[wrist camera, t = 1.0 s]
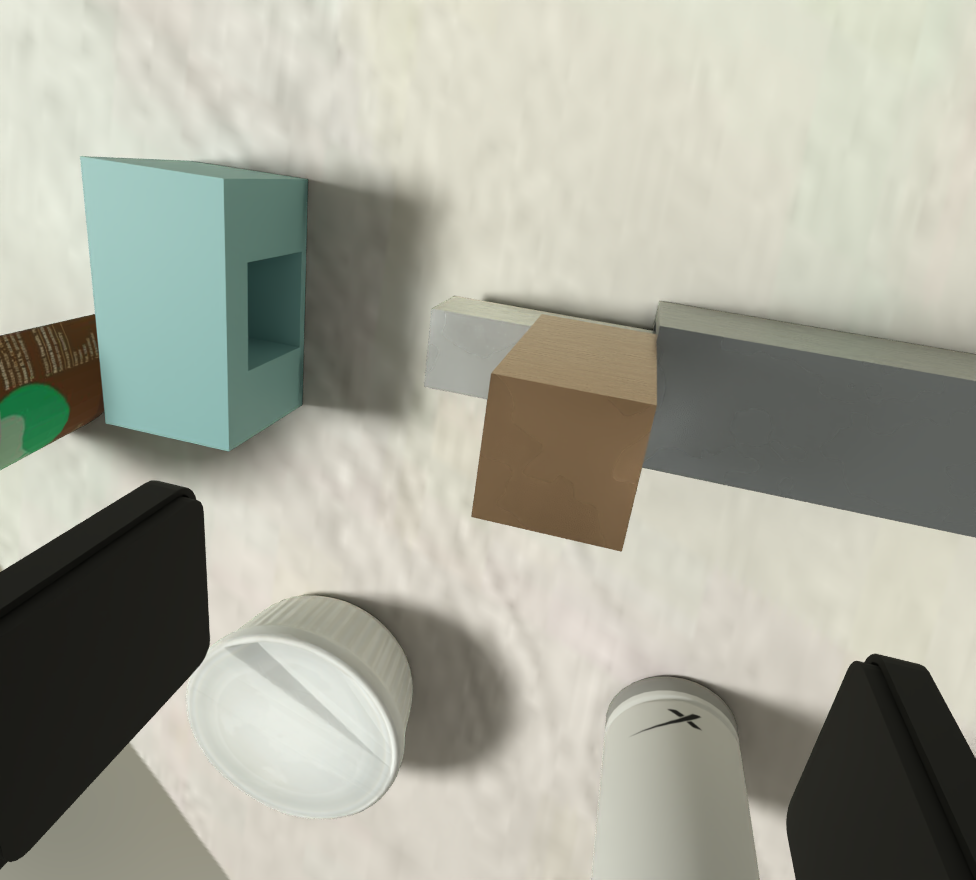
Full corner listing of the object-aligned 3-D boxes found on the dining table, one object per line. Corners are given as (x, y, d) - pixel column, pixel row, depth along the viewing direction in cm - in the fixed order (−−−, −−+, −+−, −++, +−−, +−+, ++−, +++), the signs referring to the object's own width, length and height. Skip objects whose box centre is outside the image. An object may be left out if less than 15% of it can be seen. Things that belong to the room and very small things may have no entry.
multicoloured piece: (968, 372, 24) (1192, 509, 14) (925, 473, 26) (1100, 662, 15) (455, 283, 27) (337, 343, 17) (445, 378, 29) (331, 484, 19)
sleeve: (992, 357, 25) (1068, 397, 20) (939, 479, 26) (998, 542, 22) (659, 300, 26) (660, 325, 22) (632, 419, 28) (628, 464, 24)
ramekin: (437, 597, 34) (401, 666, 29) (427, 763, 38) (395, 846, 33) (236, 557, 36) (172, 615, 31) (249, 718, 40) (194, 790, 36)
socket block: (307, 179, 28) (223, 178, 22) (302, 404, 32) (228, 451, 26) (189, 160, 29) (79, 156, 23) (197, 382, 33) (105, 423, 27)
